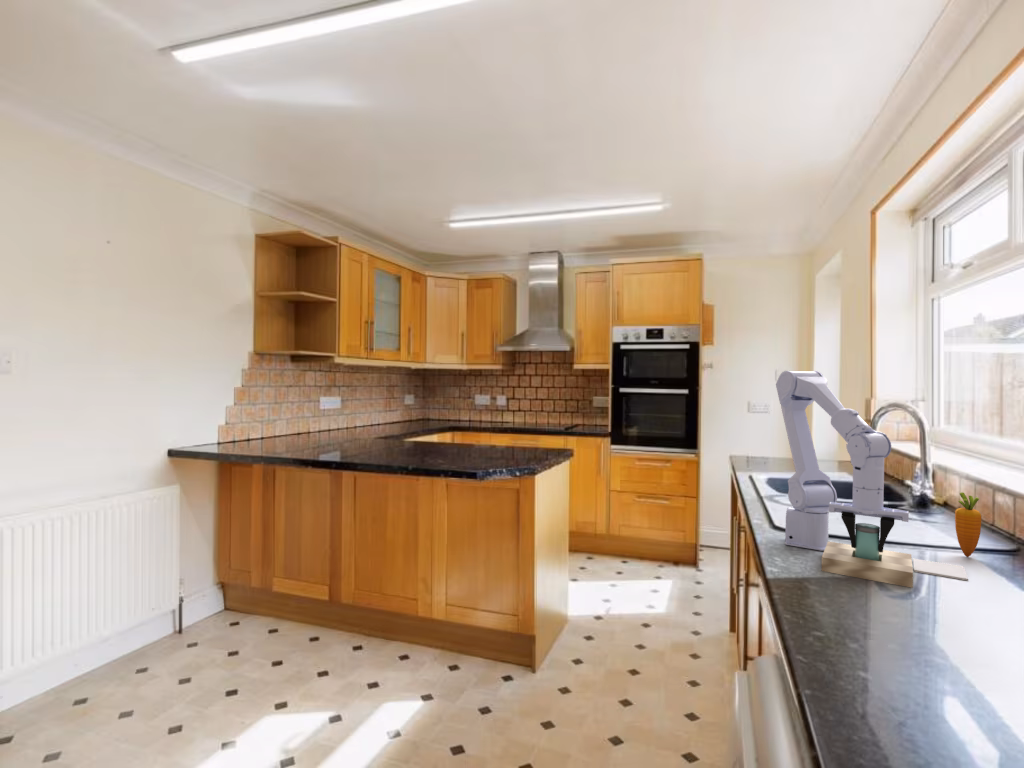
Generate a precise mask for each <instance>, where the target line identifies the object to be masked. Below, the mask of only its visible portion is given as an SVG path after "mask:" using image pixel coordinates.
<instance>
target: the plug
mask: <svg viewBox="0 0 1024 768" xmlns="http://www.w3.org/2000/svg"><path fill="white" fill-rule="evenodd" d="M879 542H880V525H879V526H878V525H875V524H874V523H873V524H871V523H866V522H858V523H855V557H857V558H863V559H869V560H875V561H879Z"/></svg>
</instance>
